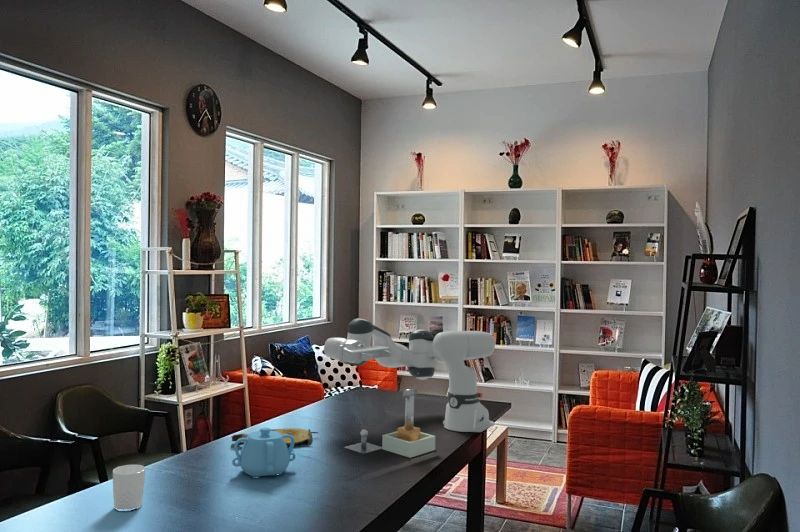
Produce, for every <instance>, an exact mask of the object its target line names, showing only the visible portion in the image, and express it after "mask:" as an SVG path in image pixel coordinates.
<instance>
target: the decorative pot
mask: <svg viewBox="0 0 800 532" xmlns="http://www.w3.org/2000/svg"><path fill="white" fill-rule="evenodd" d="M247 434H248V436H247V438H240V439H238V440H237V441H234V444H233V450H234V452H235V453H234V454H235V455H236V457H234V458H233V459H232V462H231V464H232V466H234V467H235V468H237V467H240V468H241V469H242V471H243V472H244V473H245V474H247V475H249V476H252V477H259V476H260V477H265V476H267V477H268V476H274V475H277V474H280V473H281V474H283V473H285V471H286V470H287V469H288V467H289V465H290V462H293V461H295V460H296V457H297V456H296V453H295V452H293V451H294V448H295V447H294V443H295V440H294V437H293V436H291V435H289V434H284V435H281V434H280V433H279V432H277V431H271V428H270V427H261V428H259V430H257V431H256V430H255V431H251V432H249V433H247ZM287 437H288V438H290V439H291V444H290V447H287V445H286V443H285V441H284V438H287ZM242 441H245V442H242ZM240 443H243V445H242V447H241V450H240V452H239V448H238V447H239V446H238V445H239V444H240ZM288 449H289V450H288ZM236 461H237V462H236ZM252 477H251V478H252ZM260 477H259V478H260Z"/></svg>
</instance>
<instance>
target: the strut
mask: <svg viewBox="0 0 800 532" xmlns="http://www.w3.org/2000/svg"><path fill="white" fill-rule="evenodd" d="M417 395H418V391H417V388H409V389H405V390H403V391H402V396H403V397H404V398H405V405H404V409H405V411H404V425H403V426H400V427H397V431H398V433H397V438H398V439H402V440H405V441H409V442H412V441H415V440H419V439H420V432H421V427H418V426H414V425H415V424H414V422H415V421H414V418H415V415H414V414H415V396H417Z"/></svg>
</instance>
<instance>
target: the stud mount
mask: <svg viewBox="0 0 800 532" xmlns="http://www.w3.org/2000/svg"><path fill="white" fill-rule="evenodd" d="M359 434H360V436H361V439H360V441H361V442H358V443H354V444H349V445H347V446H343V448H344V449H348V450H352V451H353V452H358V453H359V454H362V455H364V454H368V453H370V452H375V451H378V450H383V449H382V446H379V445H376V444H373V443H369V442H367V438H368V434H369V431H368V430H367V429H364V428H363V429H361V431H360V433H359Z"/></svg>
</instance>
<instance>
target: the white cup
mask: <svg viewBox="0 0 800 532" xmlns="http://www.w3.org/2000/svg"><path fill="white" fill-rule="evenodd" d="M145 476H146V467H145V466H144V465H141V464H126V465H125V464H124V465H121V466H117V467H115V468H113V469H112V492H113V495H112V496H113V508H114V507H115V508H117V509H123V510H124V509H133V508H137V507H139V506H141V505H142V506H143V498H144V497H143V496H144V491H145V490H144V489H145V478H146V477H145ZM142 506H141V507H142Z"/></svg>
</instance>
